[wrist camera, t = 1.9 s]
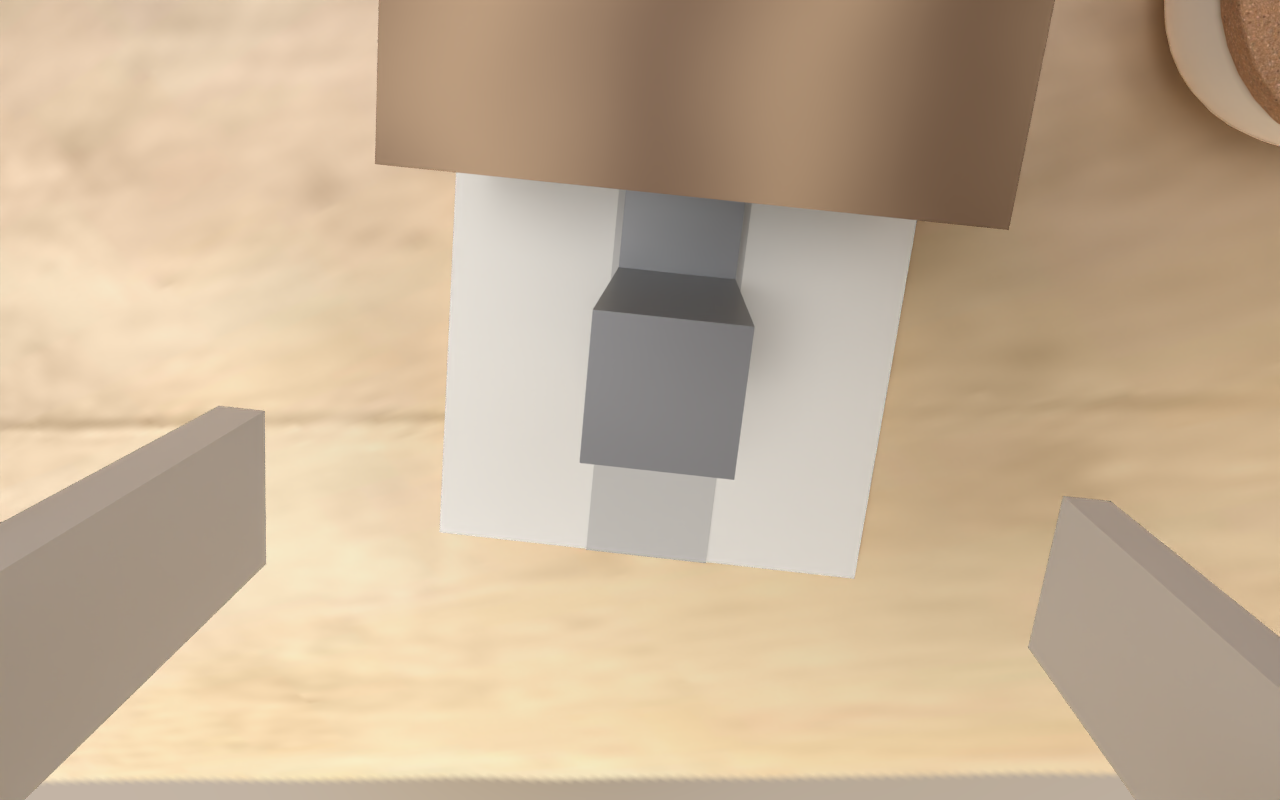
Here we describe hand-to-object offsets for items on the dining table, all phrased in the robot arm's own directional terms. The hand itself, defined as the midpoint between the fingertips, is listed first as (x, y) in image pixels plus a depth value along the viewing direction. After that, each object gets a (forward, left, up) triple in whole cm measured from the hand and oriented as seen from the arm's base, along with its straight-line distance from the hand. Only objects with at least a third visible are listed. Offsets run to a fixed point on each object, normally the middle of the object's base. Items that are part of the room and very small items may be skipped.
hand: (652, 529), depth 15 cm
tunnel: (0, -10, -19) cm, 21 cm away
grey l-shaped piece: (0, -6, -18) cm, 19 cm away
